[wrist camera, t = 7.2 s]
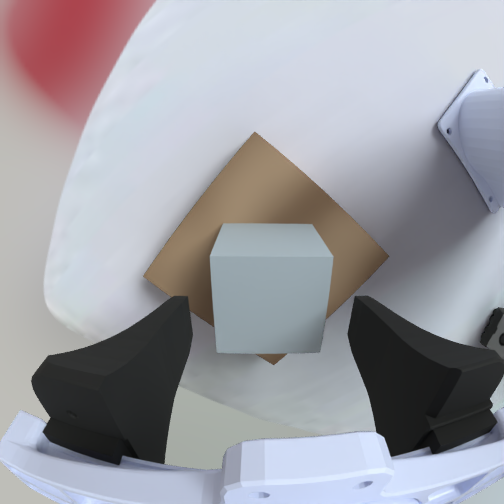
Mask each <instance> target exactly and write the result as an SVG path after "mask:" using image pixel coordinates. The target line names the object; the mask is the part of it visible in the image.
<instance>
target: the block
mask: <svg viewBox="0 0 504 504" xmlns="http://www.w3.org/2000/svg"><path fill="white" fill-rule="evenodd" d="M332 266H333V255H332V254H331V252H330V251H329V249H328V247H327V246H326V244H325V243H324V241H323V240H322V238H321V237H320V235H319V234H318V232H317V231H316V229H315V228H314V226H313V225H312V224H266V223H223V225H222V227H221V230H220V232H219V234H218V237H217V239H216V242H215V244H214V247H213V249H212V252H211V254H210V269H211V285H212V300H213V313H214V326H215V338H216V349H217V353H239V354H286V353H316V352H320V350H321V345H322V339H323V332H324V326H325V319H326V313H327V306H328V298H329V291H330V283H331V275H332Z"/></svg>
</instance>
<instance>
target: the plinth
mask: <svg viewBox="0 0 504 504" xmlns="http://www.w3.org/2000/svg"><path fill="white" fill-rule="evenodd" d="M223 223H266V224H312V225H313V226H314V228H315V229H316V231H317V232H318V234H319V235H320V237H321V238H322V240H323V241H324V243H325V244H326V246H327V247H328V249H329V251H330V252H331V254H332V255H333V266H332V275H331V283H330V291H329V298H328V306H327V313H326V319H327V318H328V317H329V316H330V315H331V314H333V313H334V312H335V311H336V310H337V309H338V308H339V307H340V306H341V305H342V304H343V303H344V302H345V301H346V300H347V299H348V298H349V297H350V296H351V295H352V294H353V293H354V292H355V291H356V290H357V289H358V288H359V287H360V286H361V285H362V284H363V283H364V282H365V281H366V280H367V279H368V278H369V277H370V276H371V275H372V274H373V273H374V272H375V271H376V270H377V269H378V268H379V267H380V266H381V265H382V264H383V263H384V262H385V260H386V259H387V258H388V257H389V255H388V254H387V253H386V252H385V251H384V250H383V249H382V248H381V247H380V246H379V245H378V244H377V243H376V242H375V241H374V240H373V239H372V238H371V237H370V235H369V234H368V233H367V232H366V231H365V230H364V229H363V228H362V227H361V226H360V225H359V224H358V223H357V222H356V221H355V220H354V219H353V218H352V217H351V216H350V215H349V214H348V213H346V212H345V211H344V210H343V209H342V208H341V207H340V206H339V205H338V204H337V203H336V202H335V201H334V200H333V199H332V198H331V197H330V196H329V195H328V194H327V193H325V192H324V191H323V190H322V189H321V188H320V187H319V186H318V185H317V184H316V183H315V182H313V181H312V180H311V179H310V178H309V177H308V176H307V175H306V174H305V173H303V172H302V171H301V170H300V169H299V168H298V167H297V166H295V165H294V164H293V163H292V162H291V161H290V160H288V159H287V158H286V157H285V156H284V155H283V154H281V153H280V152H279V151H278V150H277V149H275V148H274V147H273V146H272V145H271V144H269V143H268V142H267V141H266V140H265V139H263V138H262V137H261V136H260V135H258V134H257V133H256V132H254V133H253V134H252V135H251V136H250V138H249V139H248V140H247V141H246V142H245V143H244V145H243V146H242V147H241V148H240V149H239V151H238V152H237V153H236V154H235V155H234V157H233V158H232V159H231V160H230V161H229V163H228V164H227V165H226V166H225V167H224V169H223V170H222V171H221V172H220V174H219V175H218V176H217V177H216V179H215V180H214V181H213V182H212V184H211V185H210V186H209V187H208V189H207V190H206V191H205V192H204V194H203V195H202V196H201V198H200V199H199V200H198V201H197V203H196V204H195V205H194V207H193V208H192V209H191V211H190V212H189V213H188V214H187V216H186V217H185V218H184V220H183V221H182V222H181V224H180V225H179V227H178V228H177V229H176V231H175V232H174V233H173V235H172V236H171V237H170V239H169V240H168V242H167V243H166V244H165V246H164V247H163V248H162V250H161V251H160V253H159V254H158V256H157V257H156V258H155V260H154V261H153V263H152V264H151V266H150V267H149V268H148V270H147V271H146V273H145V274H144V276H143V277H145V278H146V279H147V280H149V281H150V282H151V283H153V284H154V285H155V286H157V287H158V288H159V289H161V290H162V291H163V292H165V293H166V294H167V295H169V296H170V297H173V296H188V300H189V309H190V311H191V312H193V313H194V314H196V315H197V316H198V317H200V318H201V319H203V320H204V321H206V322H207V323H209V324H210V325H212V326H213V327H215V326H214V313H213V300H212V285H211V269H210V254H211V252H212V249H213V247H214V244H215V242H216V239H217V237H218V234H219V232H220V230H221V227H222V225H223ZM326 319H325V320H326ZM287 354H288V353H286V354H256V355H258V356H260V357H261V358H263V359H265V360H266V361H268V362H269V363H271V364H273V365H275V364H276V363H277V362H278V361H279V360H281V359H282V358H283V357H284V356H285V355H287Z"/></svg>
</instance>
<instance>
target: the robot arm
mask: <svg viewBox="0 0 504 504" xmlns="http://www.w3.org/2000/svg"><path fill="white" fill-rule="evenodd" d="M484 79H485V80H484ZM438 129H439V130H440V132H441V133H442V134H443V136H444V137H445V139H446V140H447V141H448V143H449V144H450V146H451V147H452V148H453V150H454V151H455V153H456V154H457V156H458V157H459V159H460V160H461V162H462V163H463V165H464V166H465V168H466V170H467V171H468V173H469V174H470V176H471V178H472V179H473V181H474V183H475V184H476V186H477V188H478V190H479V191H480V193H481V195H482V197H483V199H484V200H485V202H486V204H487V206H488V208H489V210H490V211H491V212H492V213H496V212H497V211H498V209H499V208H500V207H503V208H504V87H498V88H495V87H494V85H493V84H492V82H491V81H490V79H489V78H488V76H487V75H486V73H485V72H484V71H483V70H482V69H478V70H477V71H476V72H475V74H474V75H473V76H472V78H471V79H470V80H469V82H468V83H467V85H466V86H465V87H464V89H463V90H462V91H461V93H460V94H459V95H458V97H457V98H456V99H455V101H454V102H453V103H452V105H451V106H450V107H449V109H448V110H447V111H446V112H445V114H444V115H443V116H442V118H441V119H440V120H439V122H438ZM447 129H448V130H449V134H447ZM489 198H490V200H489ZM192 336H193V332H192V325H191V317H190V309H189V300H188V296H173V297H172V298H170V299H169V300H167V301H166V302H165V303H163V304H162V305H161V306H160V307H158V308H157V309H156V310H154V311H153V312H152V313H150V314H149V315H148V316H146V317H145V318H143V319H142V320H140V321H139V322H137V323H136V324H134V325H133V326H131V327H129V328H128V329H126V330H124V331H122V332H121V333H119V334H117V335H115V336H113V337H111V338H108V339H106V340H103V341H101V342H99V343H96V344H94V345H91V346H88V347H85V348H81V349H78V350H74V351H70V352H65V353H61V354H55V355H49V356H48V357H47V358H46V359H45V360H44V362H43V363H42V364H41V365H40V367H39V368H38V369H37V371H36V372H35V374H34V375H33V376H32V380H31V382H32V386H33V390H34V392H35V394H36V396H37V398H38V399H39V401H40V402H41V404H42V405H43V407H44V408H45V410H46V412H47V413H48V414H49V416H50V417H51V418H50V420H49V421H48V423H46V422H45V421H43V420H42V419H40V418H39V417H36V416H34V415H32V414H29V413H27V412H25V411H23V410H20V411H19V413H18V414H17V416H16V417H15V419H14V420H13V422H12V424H11V425H10V427H9V428H8V430H7V431H6V433H5V435H4V436H3V438H2V440H1V441H0V461H1V462H2V463H3V464H4V465H5V466H6V467H7V468H8V469H9V470H10V471H11V472H12V473H13V474H14V475H16V476H17V477H18V478H19V479H20V480H21V481H22V482H23V483H25V484H26V485H27V486H28V487H29V488H31V489H33V490H35V491H36V492H38V493H40V494H42V495H44V496H46V497H47V498H49V499H51V500H53V501H55V502H57V503H59V504H459V503H461V502H463V501H464V500H466V499H468V498H470V497H472V496H473V495H475V494H477V493H479V492H480V491H482V490H483V489H485V488H487V487H489V486H490V485H492V484H493V483H495V482H497V481H498V480H500V479H501V478H503V477H504V407H503V408H501V409H499V410H497V411H496V412H495V413H494V414H492V412H491V410H490V409H491V408H492V406H493V403H492V402H491V400H490V397H491V396H492V394H493V393H494V391H495V390H496V388H497V386H498V385H499V383H500V381H501V379H502V377H503V375H504V360H503V359H502V358H501V357H500V356H499V354H498V353H497V352H496V351H495V350H490V349H483V348H476V347H471V346H467V345H463V344H459V343H456V342H453V341H450V340H447V339H444V338H441V337H439V336H436V335H434V334H432V333H430V332H428V331H425V330H423V329H421V328H419V327H417V326H416V325H414V324H412V323H410V322H409V321H407V320H405V319H404V318H402V317H400V316H399V315H397V314H396V313H394V312H393V311H391V310H390V309H388V308H387V307H385V306H384V305H382V304H381V303H379V302H378V301H376V300H374V299H373V298H371V297H369V296H355V298H354V303H353V309H352V314H351V319H350V324H349V329H348V339H349V343H350V347H351V351H352V354H353V357H354V359H355V362H356V364H357V367H358V369H359V372H360V374H361V377H362V379H363V382H364V384H365V387H366V389H367V392H368V395H369V399H370V403H371V407H372V412H373V416H374V421H375V427H376V432H372V431H356V432H349V433H341V434H332V435H322V436H311V437H295V438H264V439H255V440H246V441H243V442H241V443H238V444H236V445H234V446H232V447H230V448H228V449H227V450H226V452H225V454H224V457H223V463H222V469H211V470H203V469H194V468H186V467H178V466H172V465H166V464H164V463H165V452H166V444H167V437H168V430H169V424H170V418H171V413H172V407H173V402H174V397H175V394H176V391H177V388H178V385H179V382H180V379H181V376H182V373H183V370H184V368H185V365H186V362H187V359H188V356H189V352H190V347H191V342H192Z"/></svg>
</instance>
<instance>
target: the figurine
mask: <svg viewBox="0 0 504 504" xmlns="http://www.w3.org/2000/svg"><path fill="white" fill-rule="evenodd" d="M493 313H494V316H491V318H490V324H489V326H488V327H485V333H482V335H481V341H480V343H481V344H482V345H484V346H485V347H488V348H489V349H490V350H495V351H496V352H497V353H498V354H499V356H500V357H501V358H502V359H503V360H504V308H499V307H498V309H495V310H494V312H493Z"/></svg>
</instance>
